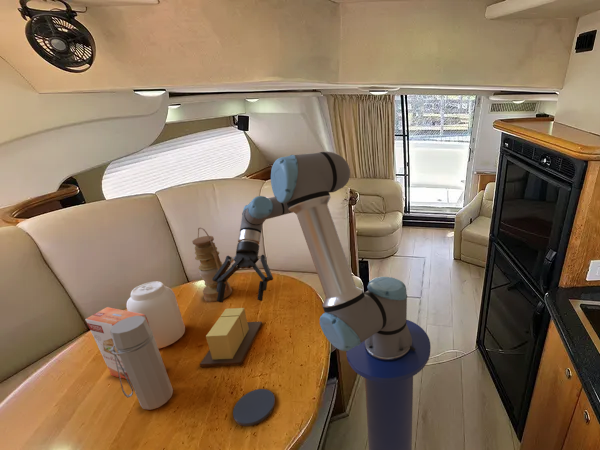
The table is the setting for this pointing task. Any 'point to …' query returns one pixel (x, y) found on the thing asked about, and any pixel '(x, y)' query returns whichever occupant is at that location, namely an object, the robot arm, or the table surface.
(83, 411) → the table surface
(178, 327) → the white jar
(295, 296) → the table surface
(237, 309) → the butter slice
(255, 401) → the plate
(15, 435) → the table surface
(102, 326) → the cracker box
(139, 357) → the water bottle
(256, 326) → the butter board
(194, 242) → the lantern
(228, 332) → the butter block
